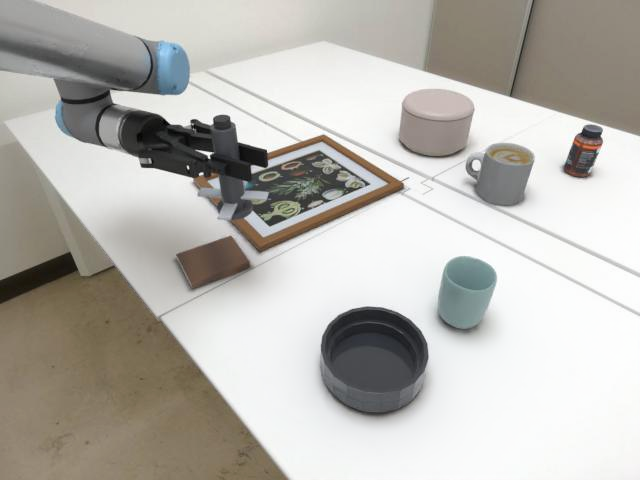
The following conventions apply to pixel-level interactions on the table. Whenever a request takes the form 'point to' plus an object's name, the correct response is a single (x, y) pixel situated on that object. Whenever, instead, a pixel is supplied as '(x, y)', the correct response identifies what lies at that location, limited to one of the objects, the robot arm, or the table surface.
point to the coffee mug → (502, 172)
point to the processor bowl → (373, 359)
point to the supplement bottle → (584, 151)
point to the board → (212, 261)
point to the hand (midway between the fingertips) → (258, 165)
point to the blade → (231, 189)
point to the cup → (465, 291)
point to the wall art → (306, 189)
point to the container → (435, 121)
